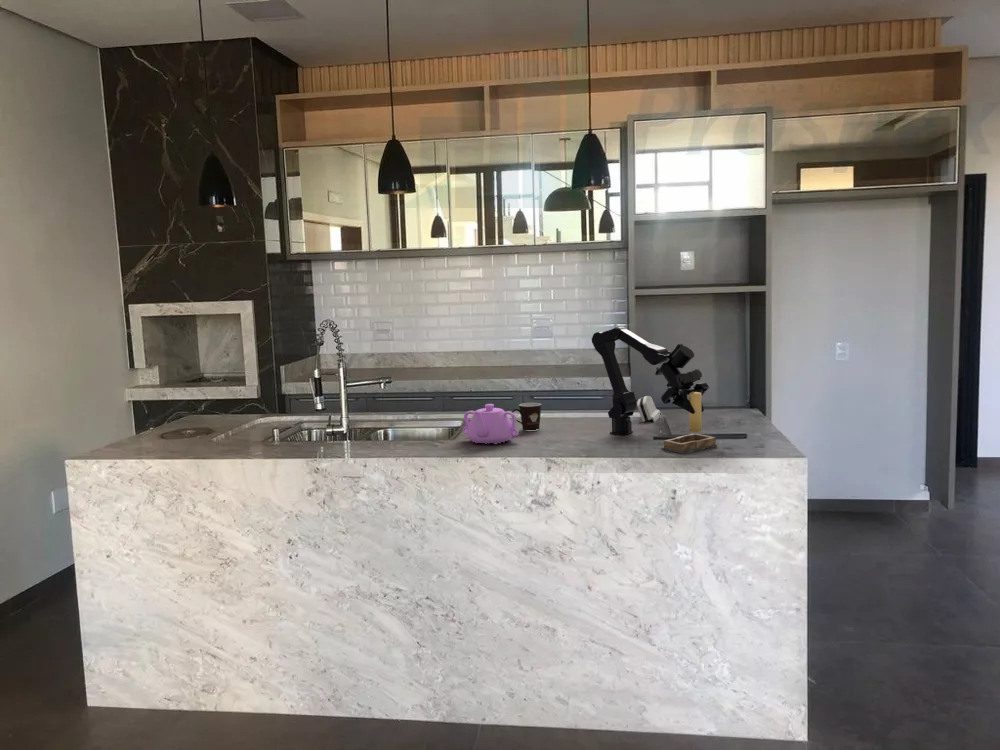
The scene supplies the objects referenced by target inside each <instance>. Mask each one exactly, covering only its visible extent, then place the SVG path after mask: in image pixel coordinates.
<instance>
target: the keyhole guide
mask: <svg viewBox="0 0 1000 750" xmlns="http://www.w3.org/2000/svg"><path fill="white" fill-rule="evenodd" d="M716 439H717V438H716V436H711V435H707V434H705V435H704V434H700V433H696V432H693V433H690V434H686V435H685V434H684V435H681V436H680V435H679V436H677V437H674V438H670V439H665V440H663V446H661V447H660V449H661V450H664V449H665V450H664V451H668V452H669V451H670V452H673V451H674V452H673V453H677V452H678V454H683V455H684V454H690V453H693V452H697V450H698V451H701V449H702V450H705V448H707V449H710V448H709V447H711V448H714V447H713V446H715V447H717V446H718V444H717V441H716Z"/></svg>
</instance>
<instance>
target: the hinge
mask: <svg viewBox="0 0 1000 750" xmlns="http://www.w3.org/2000/svg"><path fill="white" fill-rule="evenodd" d="M636 404H637V407H636V408H637V410H638V413H639V415H640V419H641V422H647V421H650V420H652V421H653V423H656V422H657V420H658V419H659V418H660V417H659V415H660V413H661V411H660V410H659V409H657V407H656V403H655V402H654V400H653V398H652V396H650V395H645V396H644V397H640V398H639V399H638V400H637V402H636ZM660 416H661V415H660Z"/></svg>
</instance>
